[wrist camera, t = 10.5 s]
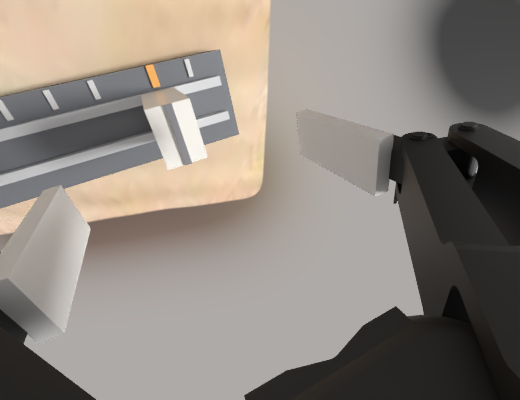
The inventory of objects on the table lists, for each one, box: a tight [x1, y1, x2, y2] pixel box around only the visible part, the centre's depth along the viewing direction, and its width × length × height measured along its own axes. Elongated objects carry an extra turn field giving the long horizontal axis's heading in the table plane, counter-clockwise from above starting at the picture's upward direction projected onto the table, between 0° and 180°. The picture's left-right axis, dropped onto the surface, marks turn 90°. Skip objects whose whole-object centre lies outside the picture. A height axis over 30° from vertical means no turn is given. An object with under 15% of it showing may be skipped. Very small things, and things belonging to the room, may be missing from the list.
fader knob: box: [141, 87, 208, 170], centre depth 25 cm, size 5×4×11 cm
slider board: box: [0, 50, 239, 208], centre depth 29 cm, size 10×28×3 cm, turn 102°
